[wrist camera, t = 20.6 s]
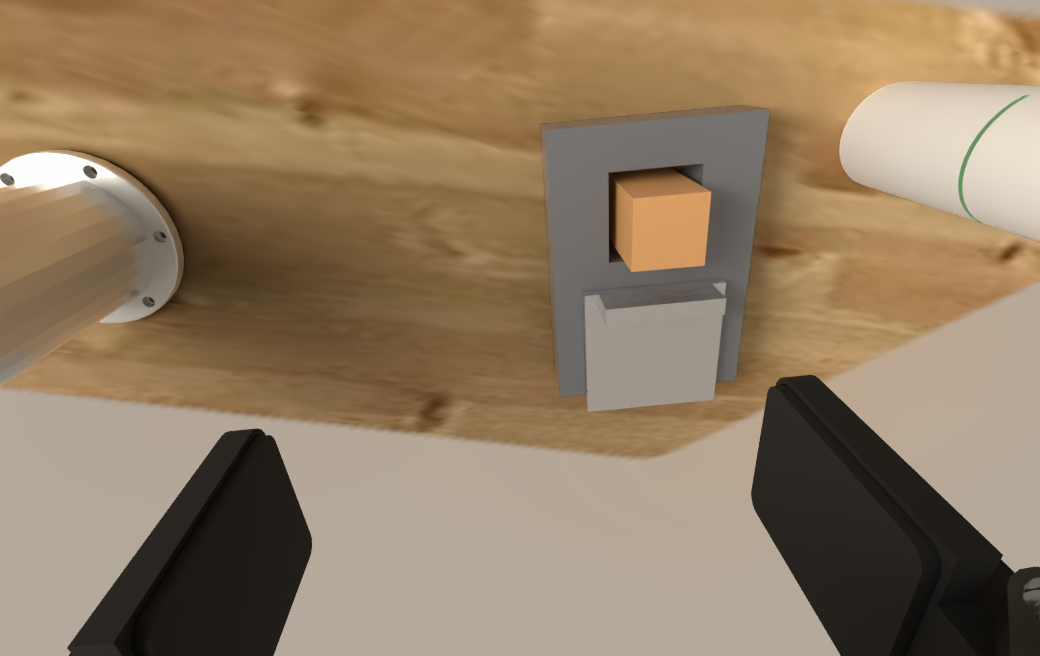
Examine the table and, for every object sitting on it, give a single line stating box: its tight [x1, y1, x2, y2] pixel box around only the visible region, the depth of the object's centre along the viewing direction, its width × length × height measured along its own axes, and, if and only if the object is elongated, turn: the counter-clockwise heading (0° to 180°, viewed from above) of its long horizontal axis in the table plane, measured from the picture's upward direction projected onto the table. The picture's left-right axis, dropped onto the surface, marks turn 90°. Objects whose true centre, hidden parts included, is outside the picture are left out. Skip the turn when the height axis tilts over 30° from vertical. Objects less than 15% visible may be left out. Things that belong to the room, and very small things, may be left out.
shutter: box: [583, 278, 726, 412], centre depth 38 cm, size 10×10×3 cm
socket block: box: [540, 105, 770, 397], centre depth 38 cm, size 14×20×4 cm
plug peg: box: [608, 168, 711, 272], centre depth 35 cm, size 5×5×8 cm
